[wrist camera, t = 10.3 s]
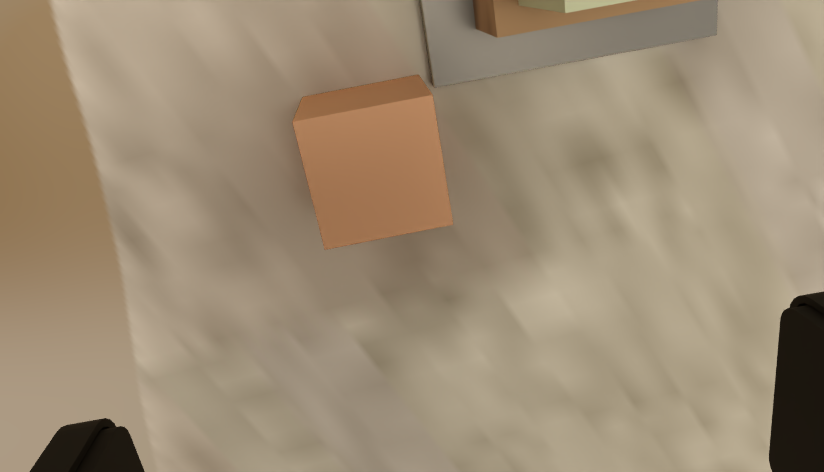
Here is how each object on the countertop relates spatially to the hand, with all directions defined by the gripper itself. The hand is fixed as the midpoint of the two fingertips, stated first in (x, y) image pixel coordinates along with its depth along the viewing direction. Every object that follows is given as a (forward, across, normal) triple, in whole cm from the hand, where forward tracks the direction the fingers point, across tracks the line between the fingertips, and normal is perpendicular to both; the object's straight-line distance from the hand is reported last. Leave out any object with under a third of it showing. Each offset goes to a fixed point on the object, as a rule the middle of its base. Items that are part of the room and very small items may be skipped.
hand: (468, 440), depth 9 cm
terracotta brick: (+20, +1, 0) cm, 20 cm away
